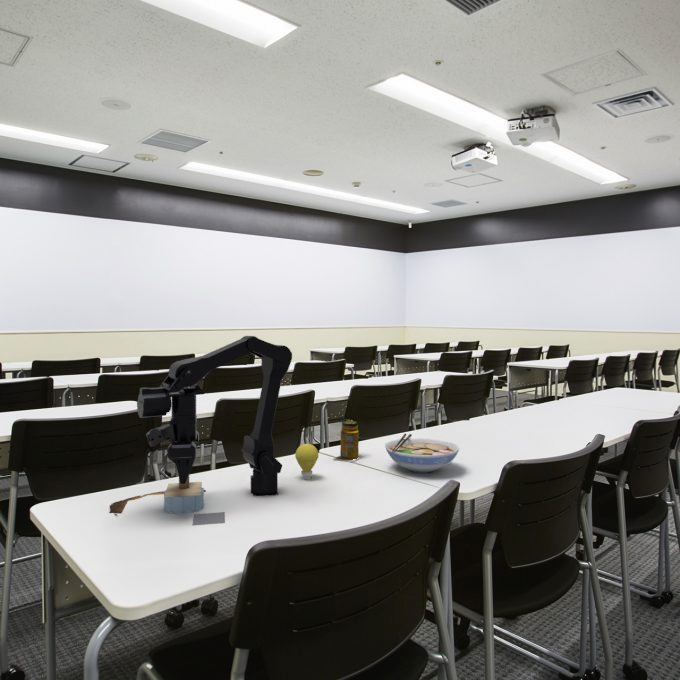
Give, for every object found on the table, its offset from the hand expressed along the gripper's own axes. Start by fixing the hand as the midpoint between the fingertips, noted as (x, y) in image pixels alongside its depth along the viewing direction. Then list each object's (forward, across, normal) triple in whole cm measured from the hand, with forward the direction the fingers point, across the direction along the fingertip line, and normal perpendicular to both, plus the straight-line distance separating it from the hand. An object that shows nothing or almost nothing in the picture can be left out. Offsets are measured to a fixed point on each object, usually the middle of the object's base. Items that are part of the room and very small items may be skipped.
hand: (184, 478), depth 131 cm
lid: (+3, 0, 0) cm, 3 cm away
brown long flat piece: (+8, -8, -7) cm, 13 cm away
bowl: (+8, 0, 0) cm, 8 cm away
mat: (+8, +9, +6) cm, 13 cm away
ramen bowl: (+8, -22, +69) cm, 73 cm away
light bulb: (+8, -20, +33) cm, 39 cm away
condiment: (+8, -40, +50) cm, 64 cm away
